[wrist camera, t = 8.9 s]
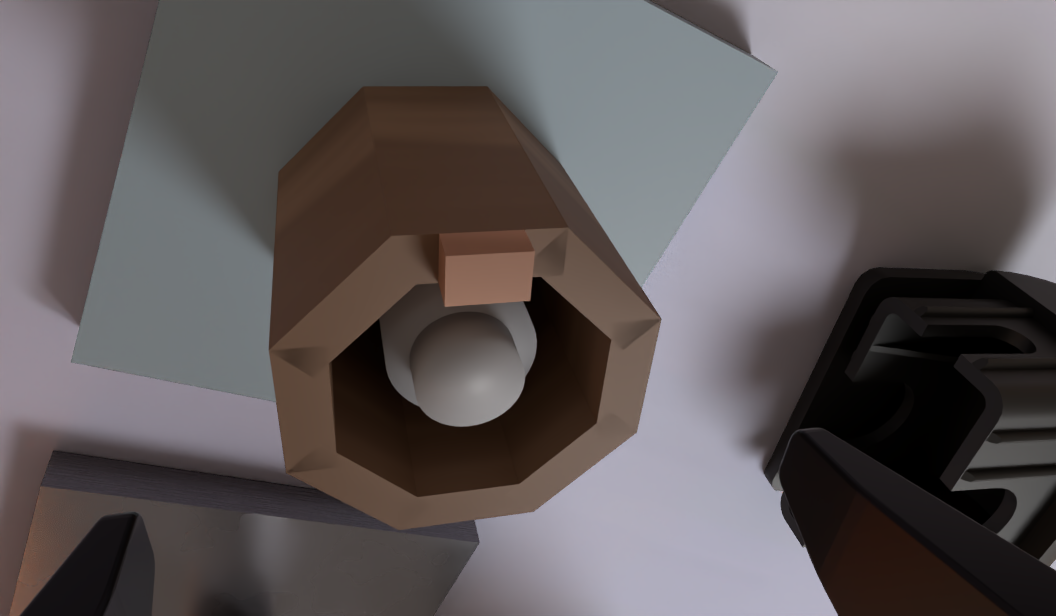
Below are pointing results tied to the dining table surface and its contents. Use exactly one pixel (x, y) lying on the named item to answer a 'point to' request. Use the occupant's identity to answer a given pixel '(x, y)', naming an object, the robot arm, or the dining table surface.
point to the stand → (244, 544)
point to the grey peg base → (315, 97)
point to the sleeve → (464, 279)
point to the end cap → (946, 393)
